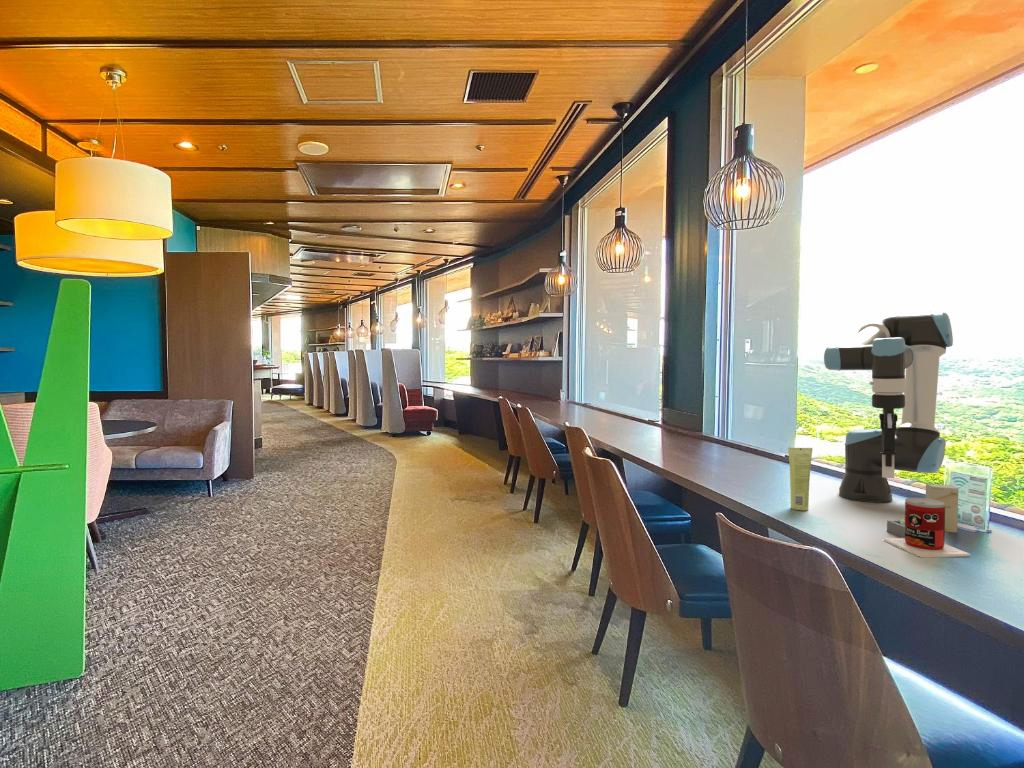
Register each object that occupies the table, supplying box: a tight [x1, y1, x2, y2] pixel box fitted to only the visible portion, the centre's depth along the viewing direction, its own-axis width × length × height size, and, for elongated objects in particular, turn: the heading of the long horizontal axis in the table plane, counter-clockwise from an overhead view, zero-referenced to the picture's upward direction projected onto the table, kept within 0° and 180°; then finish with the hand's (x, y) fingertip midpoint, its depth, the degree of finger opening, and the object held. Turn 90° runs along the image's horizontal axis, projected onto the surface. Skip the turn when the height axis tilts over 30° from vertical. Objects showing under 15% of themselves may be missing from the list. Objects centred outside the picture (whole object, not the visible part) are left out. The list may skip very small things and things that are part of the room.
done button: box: [899, 518, 905, 526], centre depth 142 cm, size 4×4×3 cm
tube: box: [787, 447, 813, 511], centre depth 168 cm, size 6×5×20 cm
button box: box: [886, 519, 905, 538], centre depth 142 cm, size 7×7×3 cm
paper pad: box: [882, 537, 971, 558], centre depth 132 cm, size 12×12×1 cm
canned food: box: [904, 497, 946, 550], centre depth 132 cm, size 8×8×11 cm
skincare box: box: [925, 483, 959, 533], centre depth 146 cm, size 6×4×12 cm
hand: (888, 477), depth 149 cm, fingers closed
